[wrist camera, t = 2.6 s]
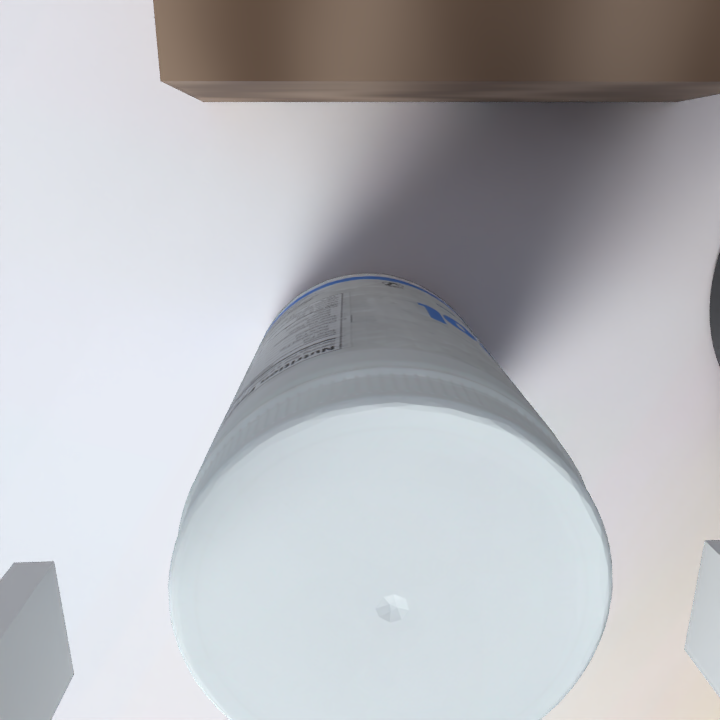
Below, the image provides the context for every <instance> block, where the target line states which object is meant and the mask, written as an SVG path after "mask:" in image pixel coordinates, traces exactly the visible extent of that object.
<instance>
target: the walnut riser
mask: <svg viewBox="0 0 720 720" xmlns="http://www.w3.org/2000/svg"><path fill="white" fill-rule="evenodd" d="M153 3H154V14H155V25H156V36H157V47H158V58H159V69H160V80H161V81H162V82H164V83H166V84H168V85H170V86H172V87H174V88H176V89H178V90H180V91H182V92H184V93H186V94H188V95H190V96H192V97H194V98H196V99H199V100H201V101H203V102H678V101H684V100H689V99H694V98H700V97H705V96H711V95H716V94H720V0H153Z"/></svg>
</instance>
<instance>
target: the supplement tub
mask: <svg viewBox="0 0 720 720" xmlns="http://www.w3.org/2000/svg"><path fill="white" fill-rule="evenodd" d="M168 589H169V609H170V617H171V623H172V627H173V631H174V634H175V637H176V641H177V644H178V647H179V649H180V652H181V654H182V656H183V658H184V661H185V663H186V665H187V667H188V668H189V670H190V672H191V674H192V676H193V677H194V679H195V681H196V682H197V684H198V685H199V686H200V688H201V689H202V690H203V692H204V693H205V694H206V696H207V697H208V698H209V699H210V700H211V701H212V703H213V704H214V705H215V706H216V707H217V708H218V709H219V710H220V711H221V712H222V713H223V714H224V715H225V716H226V717H227V718H228V719H230V720H541V719H542V718H543V717H544V716H545V715H546V714H548V713H549V712H550V711H551V710H552V709H553V708H554V707H555V706H556V705H557V704H558V703H559V702H560V701H561V700H562V699H563V698H564V697H565V696H566V694H567V693H568V692H569V691H570V690H571V689H572V688H573V686H574V685H575V684H576V682H577V681H578V679H579V678H580V677H581V675H582V674H583V672H584V671H585V669H586V667H587V666H588V664H589V662H590V660H591V659H592V657H593V655H594V653H595V650H596V648H597V646H598V644H599V642H600V639H601V637H602V634H603V631H604V629H605V625H606V622H607V618H608V614H609V608H610V602H611V596H612V560H611V554H610V548H609V543H608V538H607V534H606V531H605V528H604V525H603V522H602V519H601V517H600V514H599V512H598V510H597V508H596V506H595V504H594V502H593V500H592V498H591V496H590V494H589V493H588V491H587V490H586V487H585V485H584V482H583V480H582V477H581V475H580V473H579V472H578V470H577V468H576V466H575V464H574V463H573V461H572V459H571V458H570V456H569V455H568V453H567V452H566V451H565V449H564V448H563V446H562V445H561V444H560V442H559V441H558V439H557V438H556V436H555V435H554V433H553V432H552V431H551V430H550V428H549V427H548V426H547V425H546V423H545V422H544V421H543V419H542V418H541V417H540V416H539V415H538V413H537V412H536V411H535V410H534V408H533V407H532V406H531V405H530V403H529V402H528V401H527V400H526V398H525V397H524V396H523V395H522V393H521V392H520V391H519V390H518V388H517V387H516V386H515V385H514V384H513V382H512V381H511V380H510V379H509V377H508V376H507V375H506V374H505V373H504V371H503V370H502V369H501V368H500V366H499V365H498V364H497V363H496V361H495V360H494V359H493V358H492V357H491V355H490V354H489V353H488V352H487V350H486V349H485V348H484V347H483V345H482V344H481V343H480V342H479V340H478V339H477V338H476V336H475V335H474V334H473V333H472V331H471V330H470V329H469V328H468V326H467V325H466V324H465V322H464V321H463V320H462V319H461V318H460V317H459V316H458V314H457V313H456V312H455V311H454V310H453V309H452V308H451V307H450V306H449V305H448V304H447V303H445V302H444V301H443V300H442V299H441V298H439V297H438V296H436V295H435V294H433V293H432V292H430V291H428V290H427V289H425V288H423V287H421V286H419V285H417V284H415V283H413V282H410V281H408V280H405V279H402V278H398V277H395V276H391V275H385V274H370V273H363V274H351V275H346V276H341V277H337V278H333V279H330V280H327V281H325V282H322V283H320V284H318V285H316V286H314V287H312V288H310V289H308V290H306V291H305V292H303V293H301V294H300V295H299V296H297V297H296V298H295V299H293V300H292V301H291V302H290V303H289V304H288V305H287V306H286V307H285V308H284V309H283V310H282V311H281V312H280V313H279V314H278V316H277V317H276V318H275V319H274V321H273V322H272V324H271V325H270V327H269V328H268V330H267V332H266V334H265V336H264V338H263V340H262V342H261V344H260V346H259V348H258V350H257V352H256V354H255V356H254V358H253V360H252V362H251V364H250V366H249V368H248V370H247V372H246V375H245V377H244V379H243V381H242V383H241V385H240V387H239V389H238V391H237V393H236V395H235V397H234V399H233V402H232V404H231V406H230V408H229V410H228V412H227V414H226V416H225V418H224V420H223V422H222V424H221V426H220V428H219V430H218V432H217V434H216V436H215V438H214V440H213V442H212V444H211V447H210V449H209V451H208V453H207V455H206V457H205V459H204V462H203V464H202V466H201V468H200V470H199V473H198V475H197V477H196V479H195V481H194V483H193V485H192V487H191V489H190V492H189V495H188V497H187V500H186V503H185V506H184V509H183V512H182V517H181V521H180V526H179V532H178V537H177V540H176V543H175V547H174V551H173V555H172V559H171V565H170V572H169V584H168Z"/></svg>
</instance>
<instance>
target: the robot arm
mask: <svg viewBox="0 0 720 720" xmlns="http://www.w3.org/2000/svg"><path fill="white" fill-rule="evenodd" d="M710 327H711V336H712V341H713V347H714V350H715V354H716V358H717V361H718V363H719V366H720V254H719V257H718V260H717V264H716V267H715V272H714V277H713V281H712V288H711V296H710ZM684 650H685V651H686V652H687V654H688V655H689V656H690V658H691V659H692V661H693V662H694V663H695V665H696V666H697V667H698V669H699V670H700V671H701V673H702V674H703V676H704V677H705V678H706V680H707V681H708V682H709V684H710V685H711V687H712V688H713V689H714V691H715V692H716V693H717V695H718V696H719V697H720V540H706V541H705V543H704V548H703V553H702V559H701V564H700V569H699V574H698V580H697V585H696V590H695V595H694V601H693V606H692V611H691V617H690V622H689V627H688V632H687V638H686V643H685V648H684ZM73 675H74V671H73V665H72V659H71V654H70V648H69V643H68V637H67V631H66V626H65V620H64V615H63V609H62V603H61V598H60V592H59V587H58V581H57V575H56V570H55V564H54V561H52V562H21V563H13V565H12V566H11V567H10V569H9V570H8V571H7V572H6V574H5V575H4V576H3V577H2V579H1V580H0V720H51V719H52V717H53V715H54V713H55V711H56V709H57V707H58V705H59V703H60V701H61V699H62V697H63V695H64V693H65V691H66V689H67V687H68V685H69V683H70V681H71V679H72V677H73Z"/></svg>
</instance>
